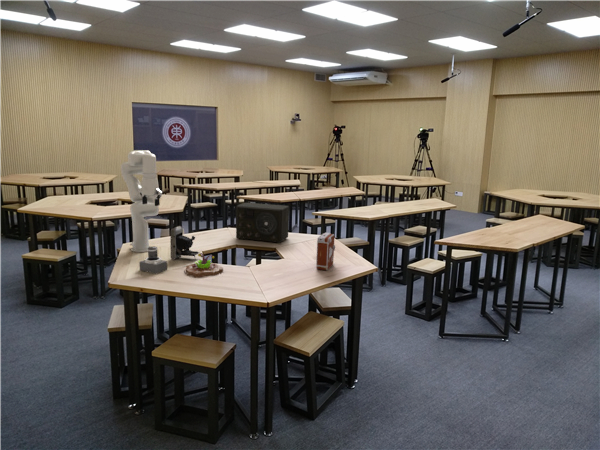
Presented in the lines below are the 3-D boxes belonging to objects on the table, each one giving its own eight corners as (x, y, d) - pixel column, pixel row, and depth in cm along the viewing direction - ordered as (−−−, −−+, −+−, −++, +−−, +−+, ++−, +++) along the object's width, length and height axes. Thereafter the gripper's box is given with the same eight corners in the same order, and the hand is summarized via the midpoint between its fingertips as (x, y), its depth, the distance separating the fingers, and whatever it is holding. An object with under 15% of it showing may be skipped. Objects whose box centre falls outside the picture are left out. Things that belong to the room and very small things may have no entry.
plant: (180, 269, 255) (179, 251, 253) (211, 264, 267) (211, 246, 265) (194, 279, 240) (194, 259, 237) (227, 273, 251) (227, 254, 249)
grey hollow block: (139, 270, 251) (139, 259, 250) (151, 266, 259) (151, 255, 258) (155, 273, 246) (155, 262, 245) (167, 269, 254) (166, 258, 253)
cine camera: (337, 262, 277) (338, 231, 273) (329, 271, 259) (330, 238, 255) (323, 261, 280) (324, 230, 276) (313, 269, 262) (315, 236, 258)
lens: (146, 261, 250) (145, 248, 249) (152, 259, 255) (152, 246, 253) (153, 263, 248) (152, 249, 247) (160, 260, 253) (159, 247, 251)
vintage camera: (193, 262, 270) (194, 230, 266) (169, 259, 273) (170, 227, 269) (199, 258, 279) (200, 227, 276) (177, 255, 282) (177, 224, 278)
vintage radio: (231, 239, 327) (231, 206, 322) (242, 234, 345) (242, 202, 340) (280, 244, 317) (281, 210, 311) (288, 238, 335) (289, 205, 330)
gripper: (133, 175, 259) (135, 204, 263) (156, 177, 252) (157, 207, 255) (143, 174, 266) (144, 202, 270) (165, 176, 259) (166, 205, 262)
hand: (151, 204), depth 263 cm, fingers open, 9 cm apart
